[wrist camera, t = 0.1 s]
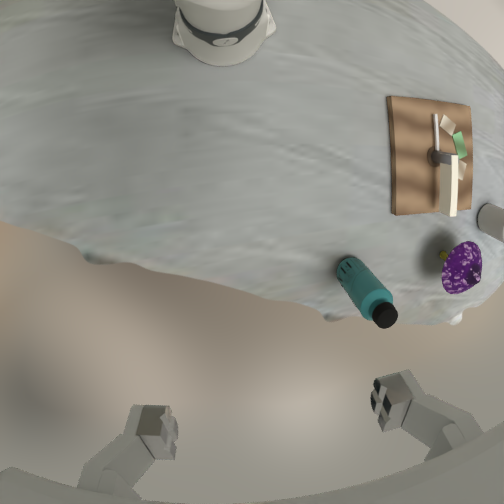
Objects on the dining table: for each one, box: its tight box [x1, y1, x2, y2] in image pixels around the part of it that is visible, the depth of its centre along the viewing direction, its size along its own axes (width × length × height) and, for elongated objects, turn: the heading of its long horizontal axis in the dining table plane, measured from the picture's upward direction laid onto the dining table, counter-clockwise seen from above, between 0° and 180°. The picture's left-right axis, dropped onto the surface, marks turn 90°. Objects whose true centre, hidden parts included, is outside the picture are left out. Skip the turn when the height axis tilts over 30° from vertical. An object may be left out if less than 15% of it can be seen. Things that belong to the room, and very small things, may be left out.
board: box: [387, 96, 473, 216], centre depth 53 cm, size 24×22×2 cm
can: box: [478, 204, 504, 243], centre depth 54 cm, size 8×8×12 cm
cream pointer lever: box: [431, 114, 459, 217], centre depth 49 cm, size 20×3×7 cm, turn 6°
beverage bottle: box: [337, 257, 398, 329], centre depth 53 cm, size 6×7×20 cm
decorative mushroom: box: [440, 241, 482, 294], centre depth 55 cm, size 12×12×15 cm
